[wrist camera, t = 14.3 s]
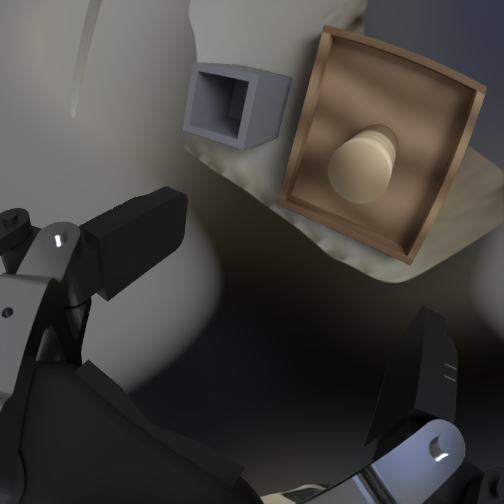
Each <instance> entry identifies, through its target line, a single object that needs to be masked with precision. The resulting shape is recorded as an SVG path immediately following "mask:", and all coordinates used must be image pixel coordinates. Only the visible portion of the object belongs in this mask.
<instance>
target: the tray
mask: <svg viewBox="0 0 504 504" xmlns="http://www.w3.org/2000/svg"><path fill="white" fill-rule="evenodd" d="M486 89H487V87H485V86H483V85H482V84H480V83H478V82H476V81H474V80H472V79H470V78H468V77H466V76H464V75H463V74H461V73H458V72H456V71H454V70H452V69H450V68H448V67H446V66H444V65H442V64H439V63H437V62H435V61H432V60H430V59H428V58H425V57H423V56H420V55H418V54H415V53H413V52H410V51H408V50H405V49H403V48H400V47H397V46H394V45H392V44H389V43H386V42H383V41H380V40H377V39H374V38H370V37H367V36H364V35H360V34H357V33H354V32H350V31H346V30H343V29H339V28H335V27H331V26H326V25H324V27H323V31H322V35H321V39H320V43H319V47H318V51H317V55H316V59H315V62H314V66H313V70H312V74H311V78H310V82H309V86H308V89H307V93H306V97H305V101H304V105H303V108H302V112H301V116H300V120H299V124H298V127H297V131H296V135H295V139H294V142H293V146H292V150H291V154H290V157H289V161H288V165H287V169H286V172H285V176H284V180H283V183H282V187H281V191H280V194H279V198H278V202H277V204H278V205H280V206H282V207H285V208H287V209H289V210H292V211H294V212H296V213H298V214H301V215H303V216H305V217H308V218H310V219H312V220H314V221H317V222H319V223H321V224H323V225H326V226H328V227H330V228H332V229H334V230H337V231H339V232H341V233H343V234H345V235H347V236H350V237H352V238H354V239H356V240H358V241H360V242H363V243H365V244H367V245H369V246H371V247H373V248H375V249H377V250H379V251H381V252H384V253H386V254H388V255H390V256H392V257H394V258H396V259H398V260H400V261H402V262H404V263H406V264H408V265H410V266H411V264H412V262H413V260H414V258H415V257H416V255H417V253H418V251H419V249H420V247H421V245H422V244H423V242H424V240H425V238H426V236H427V234H428V232H429V230H430V228H431V226H432V224H433V222H434V220H435V218H436V216H437V214H438V212H439V210H440V208H441V206H442V204H443V201H444V199H445V197H446V195H447V193H448V191H449V188H450V186H451V184H452V182H453V179H454V177H455V175H456V172H457V170H458V167H459V165H460V163H461V160H462V158H463V155H464V153H465V150H466V148H467V145H468V142H469V140H470V137H471V134H472V131H473V129H474V126H475V123H476V120H477V117H478V114H479V111H480V108H481V105H482V102H483V99H484V96H485V93H486ZM374 124H381V125H384V126H387V127H388V128H390V129H391V130H392V131H393V132H394V134H395V135H396V137H397V140H398V150H397V154H396V158H395V162H394V166H393V169H392V173H391V177H390V180H389V184H388V187H387V189H386V191H385V192H384V193H383V194H382V196H381V197H379V198H378V199H376V200H375V201H373V202H370V203H365V204H358V203H353V202H350V201H347V200H345V199H344V198H342V197H341V196H340V195H339V194H338V193H337V192H336V191H335V190H334V188H333V187H332V185H331V183H330V180H329V177H328V164H329V160H330V158H331V156H332V154H333V153H334V152H335V151H336V150H337V149H338V148H339V147H340V146H342V145H343V144H345V143H346V142H347V141H349V140H350V139H351V138H353V137H354V136H356V135H357V134H358V133H360V132H361V131H363V130H364V129H365V128H367V127H368V126H370V125H374Z"/></svg>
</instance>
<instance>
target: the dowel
mask: <svg viewBox="0 0 504 504" xmlns="http://www.w3.org/2000/svg"><path fill="white" fill-rule="evenodd" d="M397 150H398V140H397V137H396V135H395V134H394V132H393V131H392V130H391V129H390V128H388V127H387V126H384V125H381V124H374V125H370V126H368V127H367V128H365V129H364V130H363V131H361V132H360V133H358V134H357V135H356V136H354V137H353V138H351V139H350V140H349V141H347V142H346V143H345V144H343V145H342V146H340V147H339V148H338V149H337V150H336V151H335V152H334V153H333V154H332V156H331V158H330V160H329V164H328V177H329V180H330V183H331V185H332V187H333V188H334V190H335V191H336V192H337V193H338V194H339V195H340V196H341V197H342V198H344V199H345V200H347V201H350V202H353V203H358V204H365V203H370V202H373V201H375V200H376V199H378V198H379V197H381V196H382V194H383V193H384V192H385V191H386V189H387V187H388V184H389V180H390V177H391V173H392V169H393V166H394V162H395V158H396V154H397Z"/></svg>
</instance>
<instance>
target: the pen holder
mask: <svg viewBox="0 0 504 504" xmlns="http://www.w3.org/2000/svg"><path fill="white" fill-rule="evenodd" d="M291 81H292V77H288V76H284V75H280V74H276V73H272V72H268V71H263V70H259V69H254V68H250V67H245V66H240V65H234V64H220V63H197V62H195V63H194V62H193V64H192V69H191V75H190V81H189V88H188V93H187V100H186V107H185V114H184V121H183V128H182V130H183V131H186V132H189V133H192V134H196V135H199V136H202V137H205V138H208V139H211V140H215V141H218V142H221V143H224V144H227V145H230V146H233V147H236V148H238V149H241V150H245V149H247V148H250V147H253V146H255V145H258V144H261V143H263V142H266V141H269V140H272V139H274V138H277V137H278V133H279V129H280V125H281V121H282V117H283V113H284V109H285V105H286V101H287V97H288V93H289V89H290V85H291Z"/></svg>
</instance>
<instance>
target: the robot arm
mask: <svg viewBox="0 0 504 504" xmlns="http://www.w3.org/2000/svg"><path fill="white" fill-rule="evenodd" d="M187 204H188V199H187V196H186V194H184V193H182V192H179V191H177V190H175V189H172V188H170V187H167V186H166V187H163V188H160V189H158V190H157V191H154V192H152V193H150V194H148V195H143V196H138V197H134V198H132V199H130V200H128V201H126V202H124V203H123V204H122V205H121V204H120V205H118V206H116V207H114V208H113V210H111V209H110V210H109V211H107V212H105V213H103V214H101V215H99V216H97V217H95V218H93V219H91V220H90V221H88V222H86V223H84V224H82V225H80V226H79V227H78V226H77V225H75V224H73V223H70V222H56V223H53V224H50V225H48V226H46V227H44V228H43V229H40V228H37V227H34V226H31V223H30V218H29V213H28V211H26V210H25V209H21V208H15V209H10V210H7V211H4V212H2V213H0V256H1V258H2V261H3V264H4V267H5V270H6V273H3V274H1V275H0V504H264V503H263V501H262V500H261V498H260V497H259V495H258V494H257V493H256V491H255V490H254V489H253V488H252V487H251V486H250V485H249V483H248V482H246V481H245V480H244V479H243V478H242V477H241V476H240V475H241V473H242V472H243V470H244V469H245V467H244V466H242V465H240V464H238V463H236V462H234V461H233V460H231V459H229V458H227V457H225V456H223V455H222V454H220V453H218V452H216V451H214V450H213V449H211V448H210V447H208V446H206V445H204V444H203V443H201V442H199V441H196V440H193V439H189V438H186V437H184V436H181V435H178V434H176V433H173V432H170V431H167V430H165V429H162V428H160V427H157V426H155V425H153V424H151V423H150V422H148V421H147V420H146V418H145V417H144V416H143V415H142V414H141V412H140V411H139V410H138V409H137V407H136V406H135V405H134V404H133V402H132V401H131V400H130V399H129V397H128V396H127V395H126V393H125V392H124V391H123V389H122V388H121V387H120V386H119V385H118V384H117V383H115V382H114V381H113V380H112V379H111V378H109V377H108V376H107V375H106V374H105V373H103V372H102V371H101V370H100V369H99V368H98V367H96V366H95V365H94V364H93V363H92V362H91V361H89V360H88V361H86V362H85V363H84V364H83V365H82V355H81V351H82V344H83V339H84V334H85V330H86V325H87V321H88V317H89V312H90V308H91V304H92V302H91V301H92V300H91V296H92V295H94V294H95V293H97V294H99V295H100V296H101V297H103V298H104V299H105V300H106V301H109V300H110V299H111V298H113V297H114V296H115V295H117V294H118V293H119V292H121V291H122V290H123V289H124V288H126V287H127V286H128V285H130V284H131V283H132V282H134V281H135V280H136V279H138V278H139V277H140V276H141V275H143V274H144V273H146V272H147V271H148V270H150V269H151V268H152V267H154V266H155V265H156V264H158V263H159V262H161V261H162V260H163V259H165V258H166V257H167V256H169V255H170V254H171V253H173V252H174V251H176V249H178V247H179V246H180V245H181V243H182V241H183V238H184V234H185V224H186V214H187ZM456 369H457V352H456V349H455V347H454V344H453V341H452V339H451V338H449V337H447V336H446V319H445V316H444V315H442V314H440V313H438V312H436V311H434V310H432V309H430V308H428V307H426V306H422V307H421V308H420V309H419V310H418V312H417V313H416V315H415V316H414V318H413V319H412V320H411V322H410V323H409V325H408V326H407V327H406V329H405V330H404V332H403V333H402V334H401V335H400V337H399V338H398V339H397V341H396V342H395V344H394V346H393V348H392V350H391V352H390V355H389V358H388V363H387V367H386V371H385V375H384V379H383V383H382V387H381V391H380V395H379V398H378V402H377V405H376V409H375V412H374V416H373V419H372V423H371V425H370V429H369V432H368V435H367V438H366V442H365V444H364V448H365V449H368V450H370V451H373V452H375V454H374V457H373V460H372V462H370V463H369V464H367V465H366V466H364V467H362V468H361V469H359V470H358V471H356V472H355V473H353V474H351V475H349V476H348V477H346V478H344V479H343V480H341V481H339V482H338V483H335V484H334V485H332V486H330V487H328V488H326V489H325V490H323V491H321V492H319V493H317V494H315V495H313V496H311V497H309V498H307V499H305V500H303V501H300V502H298V503H296V504H504V467H503V466H493V467H491V468H490V469H488V470H486V471H484V472H483V471H482V470H480V469H479V468H478V467H477V466H475V465H474V464H473V463H471V462H470V461H469V460H468V459H467V458H466V457H465V456H464V454H465V445H464V440H463V438H462V435H461V434H460V432H459V430H458V429H457V428H456V427H455V426H454V417H455V404H456V386H457V384H456V379H457V371H456Z"/></svg>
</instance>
